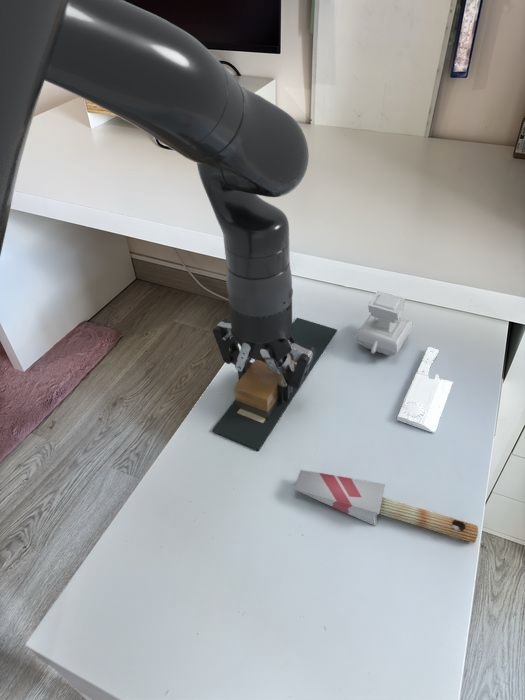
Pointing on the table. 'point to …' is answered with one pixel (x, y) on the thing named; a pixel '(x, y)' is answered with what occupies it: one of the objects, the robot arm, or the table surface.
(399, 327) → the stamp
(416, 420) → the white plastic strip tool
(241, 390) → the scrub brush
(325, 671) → the table surface
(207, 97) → the robot arm
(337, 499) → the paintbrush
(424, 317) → the table surface
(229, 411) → the mat
